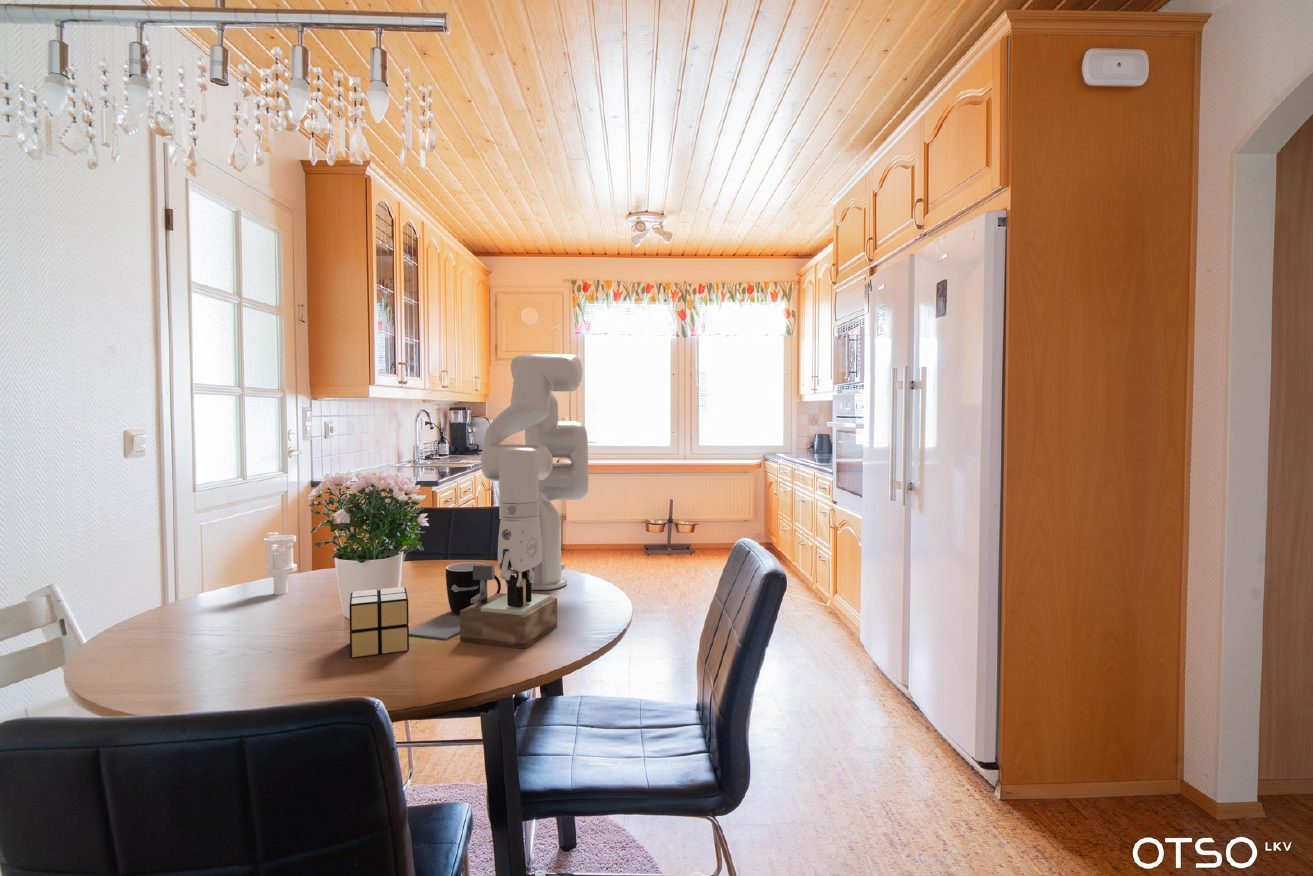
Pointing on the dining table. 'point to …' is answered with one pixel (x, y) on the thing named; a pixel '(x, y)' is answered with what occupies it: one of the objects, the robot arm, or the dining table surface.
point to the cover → (502, 607)
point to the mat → (438, 628)
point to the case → (507, 624)
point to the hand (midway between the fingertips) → (519, 603)
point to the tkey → (482, 580)
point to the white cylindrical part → (280, 560)
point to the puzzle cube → (379, 622)
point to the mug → (463, 585)
